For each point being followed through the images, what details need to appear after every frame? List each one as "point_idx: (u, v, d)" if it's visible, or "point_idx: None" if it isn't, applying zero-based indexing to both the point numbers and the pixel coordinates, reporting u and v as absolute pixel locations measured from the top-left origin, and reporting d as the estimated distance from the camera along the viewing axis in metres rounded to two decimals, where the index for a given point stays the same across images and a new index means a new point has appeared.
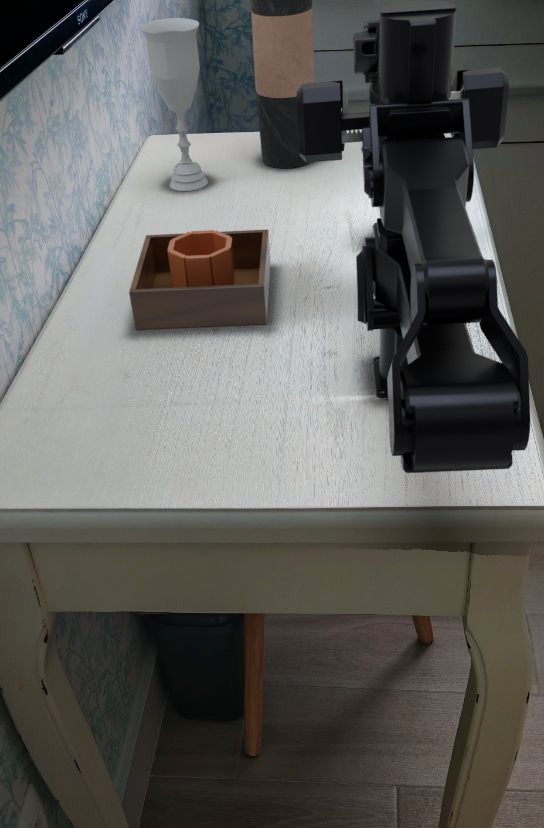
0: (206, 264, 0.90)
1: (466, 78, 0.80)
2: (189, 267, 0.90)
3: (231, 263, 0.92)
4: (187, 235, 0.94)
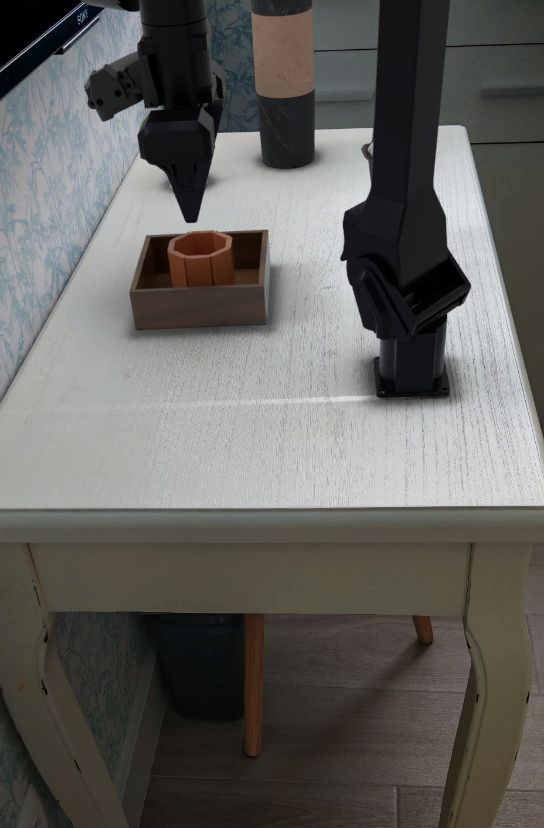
0: (206, 264, 0.90)
1: None
2: (189, 267, 0.90)
3: (231, 263, 0.92)
4: (187, 235, 0.94)
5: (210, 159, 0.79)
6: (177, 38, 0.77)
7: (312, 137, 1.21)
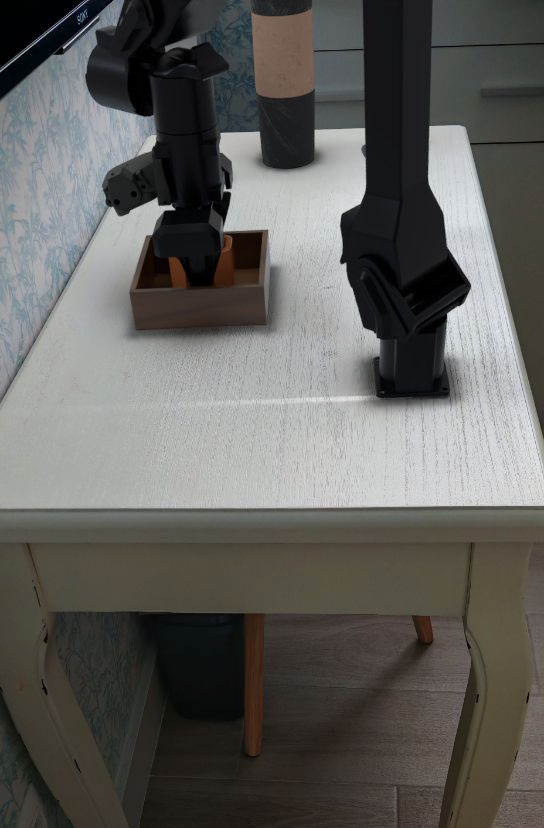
0: None
1: None
2: None
3: (231, 263, 0.92)
4: None
5: None
6: (189, 145, 0.83)
7: (312, 137, 1.21)
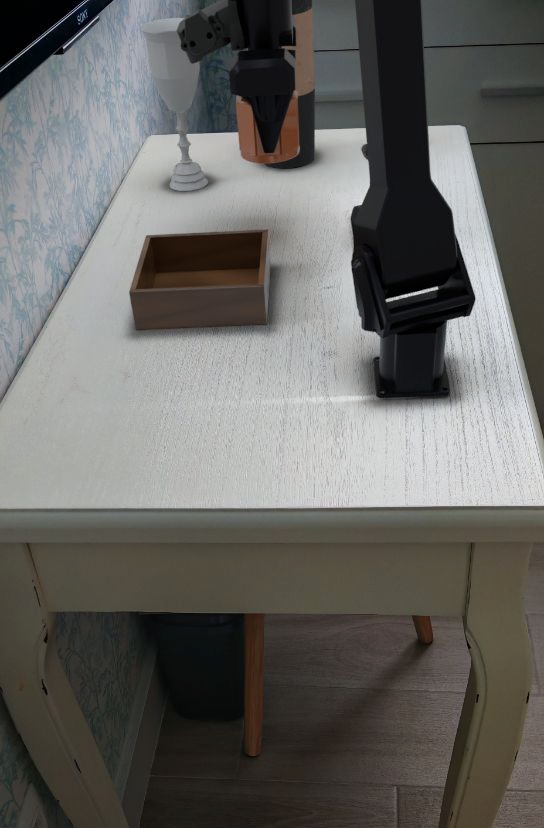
0: None
1: None
2: None
3: (297, 115, 0.95)
4: None
5: (292, 91, 0.89)
6: None
7: (312, 137, 1.21)
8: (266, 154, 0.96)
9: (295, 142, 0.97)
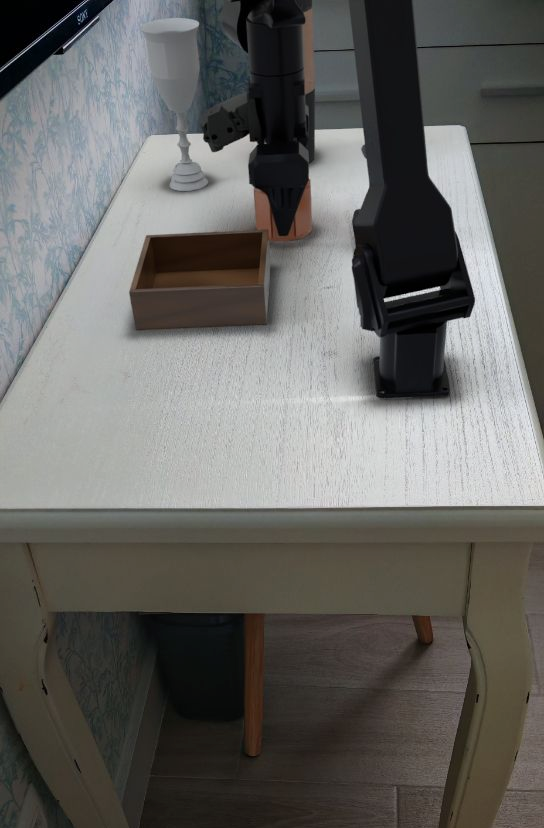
0: None
1: None
2: None
3: (310, 202, 1.03)
4: None
5: (306, 184, 0.96)
6: (281, 85, 0.94)
7: (312, 137, 1.21)
8: (281, 237, 1.04)
9: (308, 226, 1.05)
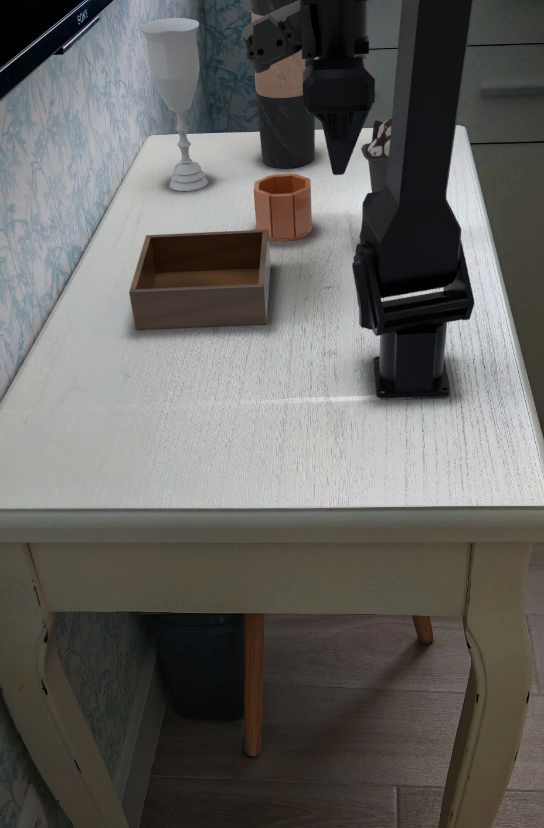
0: (289, 201, 1.01)
1: None
2: (274, 204, 1.02)
3: (310, 202, 1.03)
4: (269, 178, 1.05)
5: (370, 108, 0.80)
6: None
7: (312, 137, 1.21)
8: (281, 237, 1.04)
9: (308, 226, 1.05)
